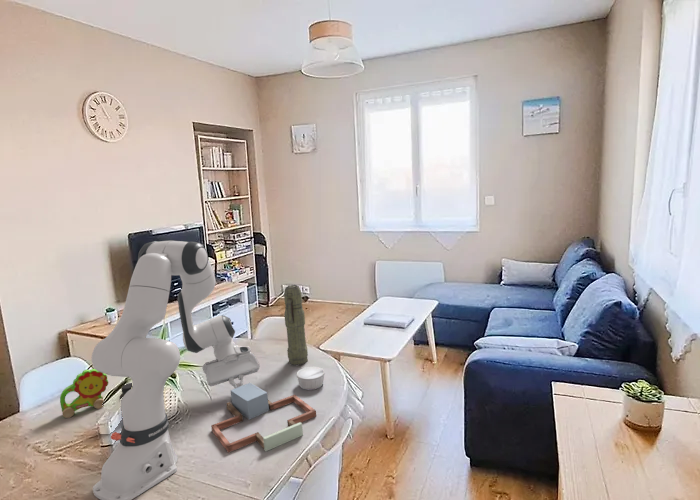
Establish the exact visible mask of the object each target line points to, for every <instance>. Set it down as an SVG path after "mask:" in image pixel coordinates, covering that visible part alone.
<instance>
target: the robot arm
mask: <svg viewBox="0 0 700 500" xmlns="http://www.w3.org/2000/svg"><path fill="white" fill-rule="evenodd" d="M172 276H179V277H180V279H181V284H182V287H181V290H180V291H179V293H177V305H178V312H179V317H180V322H181V329H182V341H183V342H182V343H183V345H184V347H185V349H186V350H187V351H188V352H191V353H194V354H197V353H200V352H202V351H204V350H205V349H207V348H210V347H212V348H213V354H214V357H215V359H214V360H211V361H206V362H204V364H203V365H202V372H203V373H204V374H205V378H206V383H207V385H208V387H214V386H217V385H220V384H223V383H229V384H230V385H231V386H232V387H233V389H235V388H238V387H240V386H243V385H244V383H243V381H244V377H245V376H249V375H252V374H254V373H257V372H258V371H259V369H260V367H261V365H260V363H259V360H258V358H257V357H256V355H255V354H254V353H253V352H251V351H252V349H251V347H250V346H247V345H246V346H242V345H237V344H236V343H235V341H234V336H235V333H236V330H235V329H234V326H233V323H232V320H231V318H230V317H228V316H226V315H223V314H222V315H218V316H215V317H213V318H210V319H207V320H205V321H203V322H202V321H201V322H199V323H198V324H194V321H193V315H192V313H193V311H194V308H196V306H197V305H198V304H200V303H201V302H202V301H204V300H206V298H208V297H209V296H210V295H211V294H212V293H213V291H214V289H215V286H216V284H217V283H216V282H217V281H216V276H215V271H214V269H213V267H212V264H211V261H210V260H209V254H208V251H207V249H206V247H205V246H204V245H203V244H202V243H200V242H196V241H182V240H181V241H180V240H162V241H156V240H154V241H150V242H149V241H148V242H147V243H144V245H143V246H142V247H141V248H140V250H139V252H138V256H137V262H136V264H135V267H134V270H133V273H132V275H131V278H130V282H129V286H128V291H127V295H126V298H125V302H124V303H125V304H124V306H123V310H122V313H121V316H120V318H119V320H118V321H117V323H116V325H115V327H114V328H113V330H111V332H110V333H109V334H108V335H107V336H106V337H105V338H103V339H102V340H100V341H99V342H98V343H97V344H96V345H95V347H94V349H93V350H92V353H91V363H92V367H93V369H96V370H97V371H99V372H101V373H104V374H106V375H107V376H111V377H121V378H122V377H123V378H130V379H131V381H132V382H131V383H133V386H132V389H130V390H129V391H128V392H127V393H126V394H125V395H124V396H123V398H122V400H121V406H120V412H121V411H122V414H121V418H122V417H123V419H122V423H123V425H122V427H121V433H120V432H116V431H113V433H111V435H110V439H111V440H112V441H116V442H117V441H119V443H118V444H117V445H116V446H115V448H114V450H113V451H112V452H111V454H110V455H109V457H108V458H107V459H106V461H105V462H104V463H103V465H102V468H101V473H100V476H101V478H100V480H99V481H97V482H96V483H95V484H94V485H93V486H92V493H94V494H93V495H94V496H95V498H97V499H99V500H133V499H135V498H137V497H138V496H140V495H141V494H143V493H145V492H146V491H148V490H149V489H151V488H152V487H154V486H156V485H157V484H159V483H160V482H162V481H164V480H165V479H166V478H167V479H168V477H171V476H172V474H175V473H176V472H177V470H178V468H177V462H178V459H179V458H178V454H177V453H176V450H175V449H174V446H173V443H172V439H171V436H170V432H169V427H170V424H169V417H168V414H167V412H166V408H165V407H166V406H165V395H164V392H165V390H164V389H165V384H166V382H167V380H168V378H170V376H171V375H173V374H174V373H175V372H176V370H177V368H178V367H179V365H180V361H181V353H180V350H179V347H178V345H177V344H176V343H175V342H173V341H170V340H166V339H164V338H163V339H162V338H157V337H156V338H155V337H147V336H148V334H149V333H150V331H151V329H152V328H153V327H155V326H156V325H157V324H160V323H161V322H162V321H163V320H164V318H165V317H166V313H167V307H168V303H169V297H170V293H171V287H172V286H171V285H172ZM235 379H236V380H237V379H238V380H239V382H238V383H236V382H235V381H234V380H235Z"/></svg>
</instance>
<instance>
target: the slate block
mask: <svg viewBox="0 0 700 500" xmlns="http://www.w3.org/2000/svg"><path fill="white" fill-rule="evenodd" d="M268 395H269V394H268V391H266V390H263V389H262V388H260V387H258V386H257V385H255V384H253V383H252V382H248V383H245V384H243V386H240V387H238V388H233V389H230V400H231V404H232V405H233V406H234V407H235V408H236V409H237V410H238V411H239V412H240V414H241V415H242V416H243V417H244V418H246V419H248V420H251V419H254V418H256V417H258V416H260V415H262V414H264V413H267V412H269V411H270V409H269V405H268V400H269V396H268Z"/></svg>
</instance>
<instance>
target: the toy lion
mask: <svg viewBox="0 0 700 500" xmlns="http://www.w3.org/2000/svg"><path fill="white" fill-rule="evenodd" d="M108 385H109V380H108V375H107V374H104V373H101V372H99V371H97V370H96V369H95V368H91V369H84V370H83V371H82V372H80V373H78V374H77V375H76V376H75V378H74V379H73V381H72V384H70V385H68V386H67V387H65V388H64V389H63V391H62V392H61V394H60V397H59V398H60V399H59V403H60V408H61V413H62V416H63V418H66V419H70V418H72V417H73V416H74V415H75V412H76V411H78V410H80V409H83V408H86V407H94V408H95V409H98V410H100V409H102V408H103V407H104V406H105V405H103V406H102V403H103V401H105V400H104V397H103V395H102V393H104V392H105V391H106V390H107V387H108ZM72 392H74V393H77V395H78V396H77V397H76V398H74V399H73V400H72V401H71V403H70V402H68V403H67V402H66V397H67V395H68V394H69V393H72Z"/></svg>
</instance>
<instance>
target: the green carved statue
mask: <svg viewBox="0 0 700 500" xmlns="http://www.w3.org/2000/svg"><path fill="white" fill-rule="evenodd" d="M283 297H284V299H283V300H284V306H285V307H284V310H285V311H284V313H283V315H284V325H285V327H286V336H287V359H288V364H289V365H290V366H294V365H295V366H296V365H298V366H302V365H305V364H307V363H308V361H309V360H308V359H309V358H308V356H309V354H308V346H307V343H306V332H305V325H306V318H305V311H304V308H303V298H302V291H301V289H300V285H299V286H298V285H297V284H291V285H287V286H286V287H284V292H283Z"/></svg>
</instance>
